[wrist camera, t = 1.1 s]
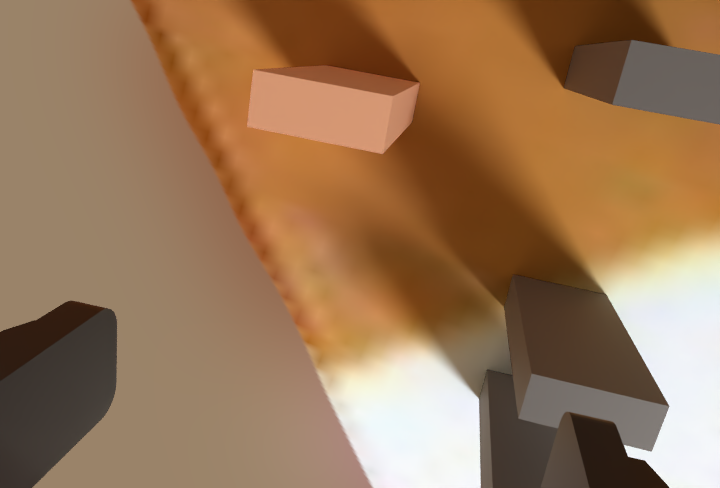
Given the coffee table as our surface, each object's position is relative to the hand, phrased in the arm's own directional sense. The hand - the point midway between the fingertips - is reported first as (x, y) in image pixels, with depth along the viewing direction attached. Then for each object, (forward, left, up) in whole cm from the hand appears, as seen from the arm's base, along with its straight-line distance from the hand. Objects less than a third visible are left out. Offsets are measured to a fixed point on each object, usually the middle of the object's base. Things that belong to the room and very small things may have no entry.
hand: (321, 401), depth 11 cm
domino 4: (+6, +8, -23) cm, 25 cm away
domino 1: (-3, -4, -23) cm, 23 cm away
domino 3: (-6, +8, -23) cm, 25 cm away
